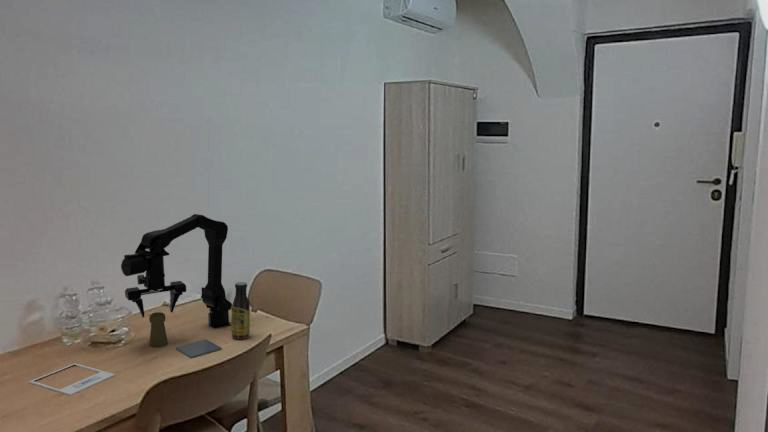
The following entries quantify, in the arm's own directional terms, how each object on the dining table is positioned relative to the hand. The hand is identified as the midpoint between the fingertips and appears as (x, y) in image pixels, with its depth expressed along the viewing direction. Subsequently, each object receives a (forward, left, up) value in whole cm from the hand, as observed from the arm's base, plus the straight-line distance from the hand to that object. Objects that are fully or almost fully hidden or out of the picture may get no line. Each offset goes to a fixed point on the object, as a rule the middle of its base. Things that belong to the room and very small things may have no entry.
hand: (157, 314), depth 198 cm
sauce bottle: (-26, +9, -11) cm, 30 cm away
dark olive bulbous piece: (0, 0, -11) cm, 11 cm away
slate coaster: (-10, +12, -11) cm, 19 cm away
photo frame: (+28, +15, -11) cm, 34 cm away
